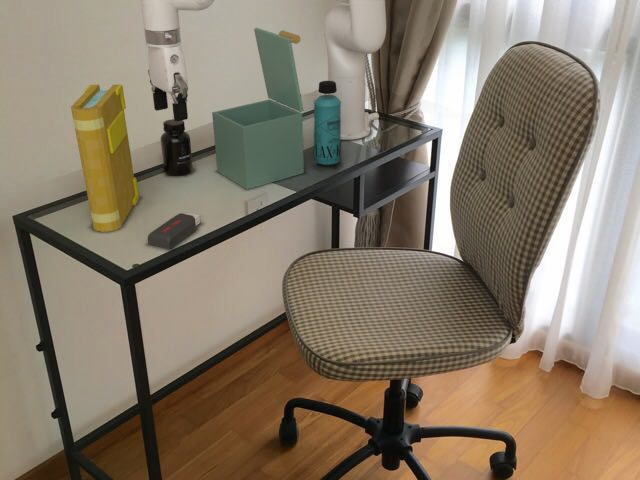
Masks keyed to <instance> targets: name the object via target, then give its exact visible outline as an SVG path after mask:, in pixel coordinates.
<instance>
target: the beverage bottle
mask: <svg viewBox="0 0 640 480" xmlns="http://www.w3.org/2000/svg"><path fill="white" fill-rule="evenodd" d="M336 91H337V89H336V83H335V82H334V81H328V80H322V81H319V82H318V93H319V94H323V95H319V96H318V97H317V98H315V100H314V101H313V111H314V113H313V115H314V117H313V118H314V119H313V122H314V123H313V124H314V125H313V159H314V160H315V163H317V164H319V165H329V166H330V165H335V164H337V163H339V162H340V161H341V157H342V155H341V154H342V140H340V139H341V119H340V117H341V101H340V100H339V99H338V98H337V97H336V96H334V95H328V94H332V93H335V92H336Z"/></svg>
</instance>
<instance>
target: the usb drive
mask: <svg viewBox="0 0 640 480" xmlns="http://www.w3.org/2000/svg"><path fill="white" fill-rule="evenodd" d="M200 219H201V218H200V215H199V214H195V213H190V212H185V213H178V214H176V215H174V216H173V217H171V218H170V219H168V220H167V221H165V222H164V223H163V224H161V225H160V226H157V228H156V229H154V230H153V231H151V232H150V233H149V234H148V235H147V244H148V245H151V246H155V247H159V248H164V249H167V250H172V249H173V248H174V247H176V246H177V245H179V244H180V243H182V242H183V241H185V240H186V239H187V238H189V237H190V236H191V235H192V234H194V233H195V232H196V230H197V226H198V225H199V224H201V220H200Z"/></svg>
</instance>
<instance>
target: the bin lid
mask: <svg viewBox="0 0 640 480" xmlns="http://www.w3.org/2000/svg"><path fill="white" fill-rule="evenodd" d="M253 31H254V36H255V41H256V46H257V51H258V55H259V60H260V66H261V70H262V75H263V80H264V85H265V88H266V95H267V98H268V99H270V100H272V101H274V102H277V103H279V104H281V105H283V106H286V107H288V108H290V109H293V110H295V111H297V112H300V113H302V112H304V107H303V101H302V94H301V89H300V83H299V78H298V72H297V67H296V61H295V55H294V50H293V44H295V45H296V44H299V43H300V42H301V36H300V35H298V34H296V33H293V32H289V31H286V30H280V31H279V32H278V34H277V33H274V32H271V31H268V30H265V29H262V28H259V27H255V28H253Z"/></svg>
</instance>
